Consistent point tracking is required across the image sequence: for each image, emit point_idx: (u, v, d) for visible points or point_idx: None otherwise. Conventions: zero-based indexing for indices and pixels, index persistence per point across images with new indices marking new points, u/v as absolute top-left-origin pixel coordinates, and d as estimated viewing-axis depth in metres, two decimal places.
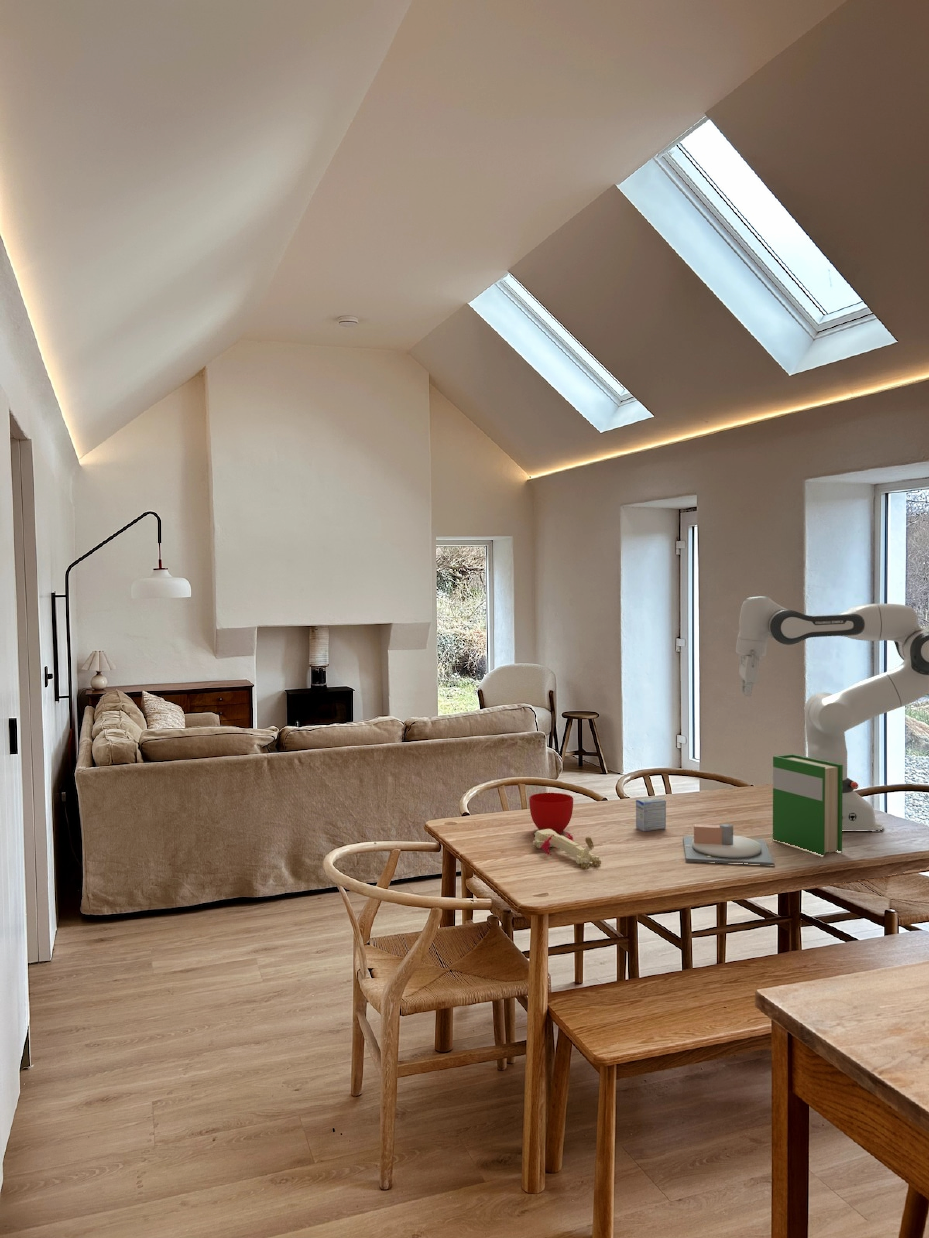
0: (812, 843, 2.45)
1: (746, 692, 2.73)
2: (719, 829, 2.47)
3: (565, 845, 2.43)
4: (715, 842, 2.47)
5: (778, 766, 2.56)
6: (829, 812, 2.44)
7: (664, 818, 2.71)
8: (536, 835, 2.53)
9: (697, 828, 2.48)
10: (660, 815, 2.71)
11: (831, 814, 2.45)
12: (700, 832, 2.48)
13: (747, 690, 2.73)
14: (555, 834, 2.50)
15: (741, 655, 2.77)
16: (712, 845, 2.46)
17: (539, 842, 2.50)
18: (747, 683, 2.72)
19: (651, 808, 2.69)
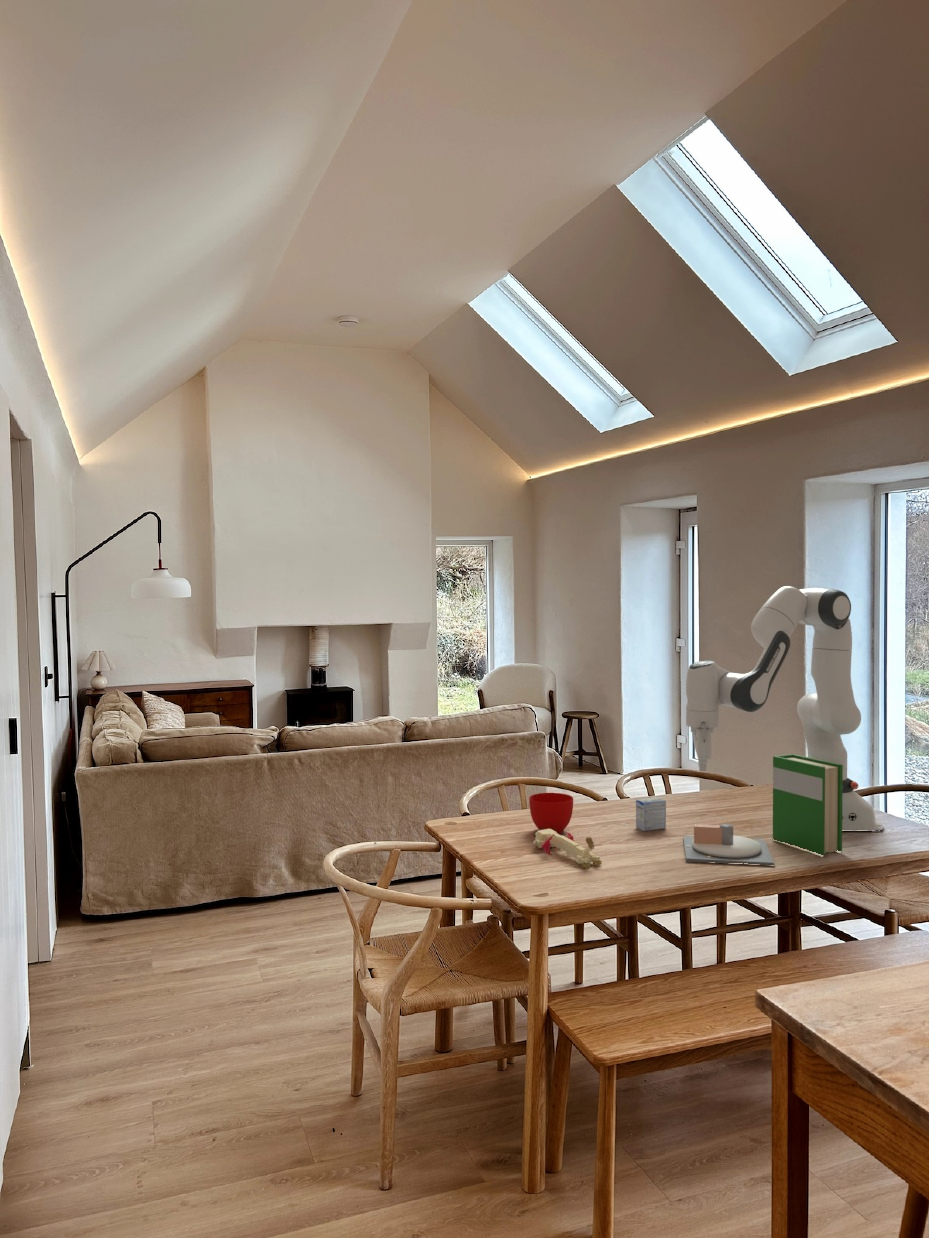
0: (812, 843, 2.45)
1: (700, 767, 2.52)
2: (719, 829, 2.47)
3: (566, 845, 2.43)
4: (715, 842, 2.47)
5: (778, 766, 2.56)
6: (829, 812, 2.44)
7: (664, 818, 2.71)
8: (537, 835, 2.53)
9: (697, 828, 2.48)
10: (660, 815, 2.71)
11: (831, 814, 2.45)
12: (700, 832, 2.48)
13: (701, 764, 2.52)
14: (556, 834, 2.49)
15: (692, 728, 2.53)
16: (712, 845, 2.46)
17: (540, 842, 2.50)
18: None
19: (651, 808, 2.69)
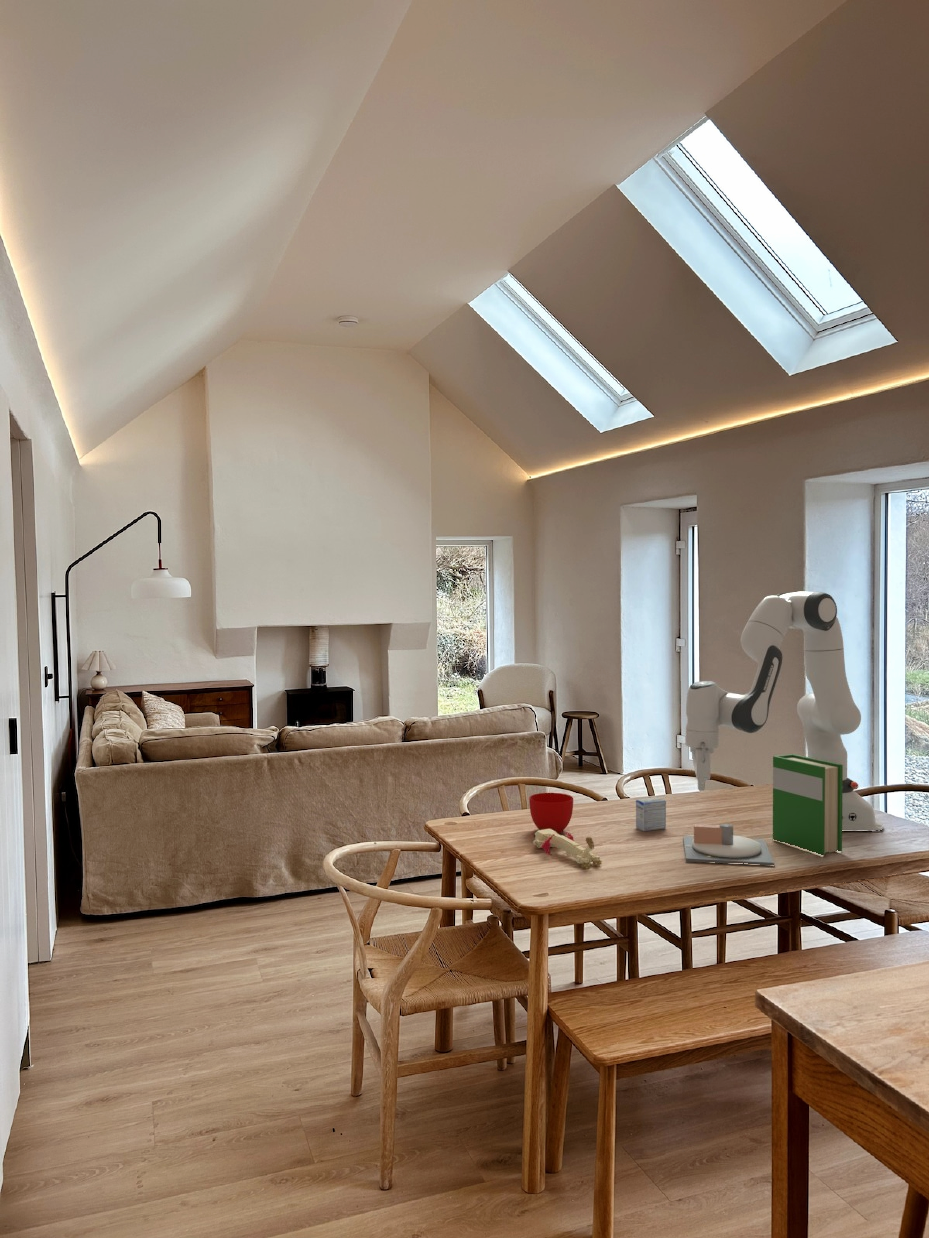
0: (812, 843, 2.45)
1: (699, 786, 2.53)
2: (719, 829, 2.47)
3: (565, 845, 2.43)
4: (715, 842, 2.47)
5: (778, 766, 2.56)
6: (829, 812, 2.44)
7: (664, 818, 2.71)
8: (536, 835, 2.53)
9: (697, 828, 2.48)
10: (660, 815, 2.71)
11: (831, 814, 2.45)
12: (700, 832, 2.48)
13: (700, 784, 2.53)
14: (555, 834, 2.49)
15: (691, 748, 2.53)
16: (712, 845, 2.46)
17: (539, 842, 2.49)
18: None
19: (651, 808, 2.69)
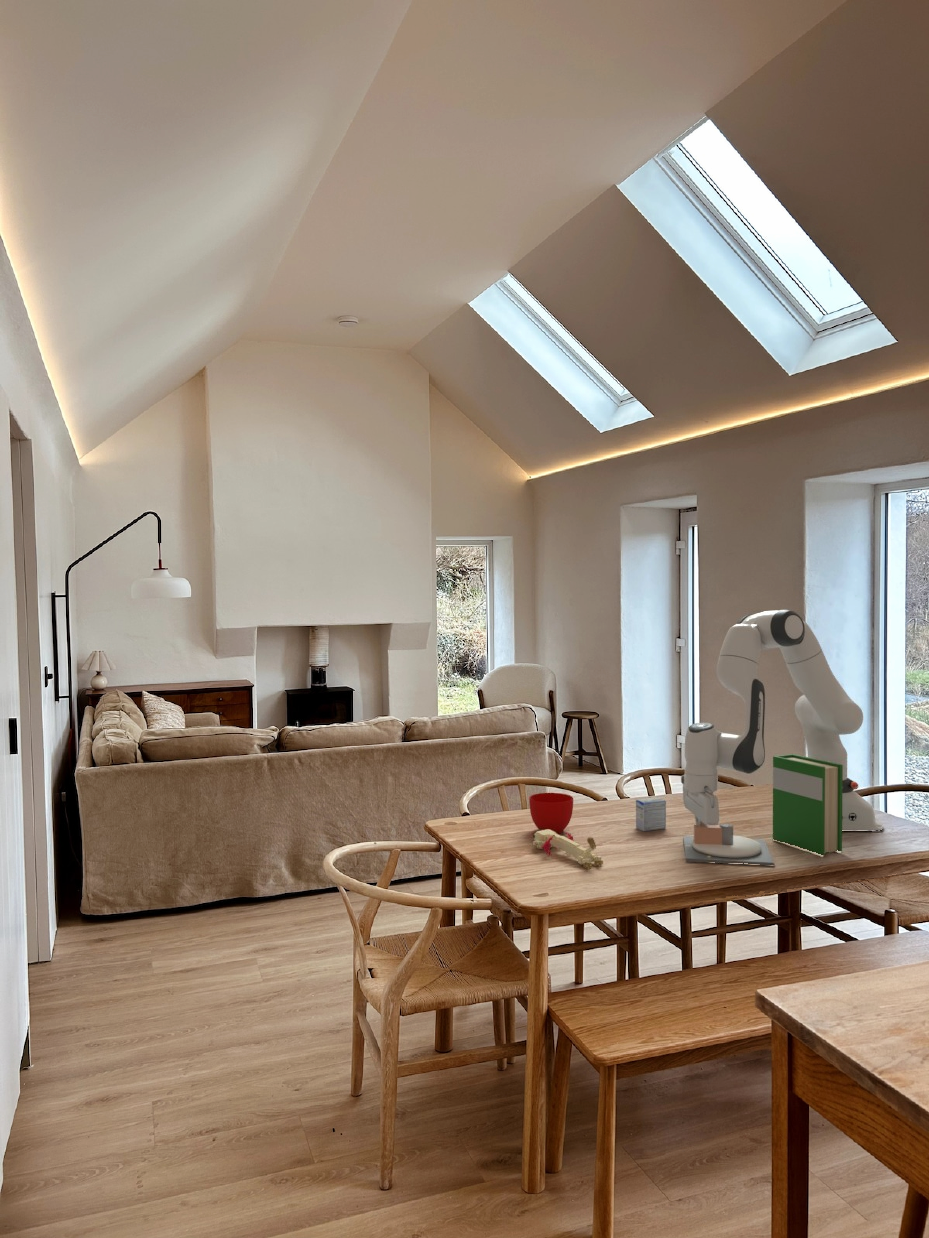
0: (812, 843, 2.45)
1: None
2: (719, 829, 2.46)
3: (566, 845, 2.43)
4: (715, 842, 2.47)
5: (778, 766, 2.56)
6: (829, 812, 2.44)
7: (664, 818, 2.71)
8: (536, 836, 2.52)
9: (697, 828, 2.47)
10: (660, 815, 2.71)
11: (831, 814, 2.45)
12: (700, 833, 2.47)
13: None
14: (555, 834, 2.49)
15: (692, 792, 2.49)
16: (713, 845, 2.45)
17: (539, 843, 2.49)
18: (701, 820, 2.49)
19: (651, 808, 2.69)
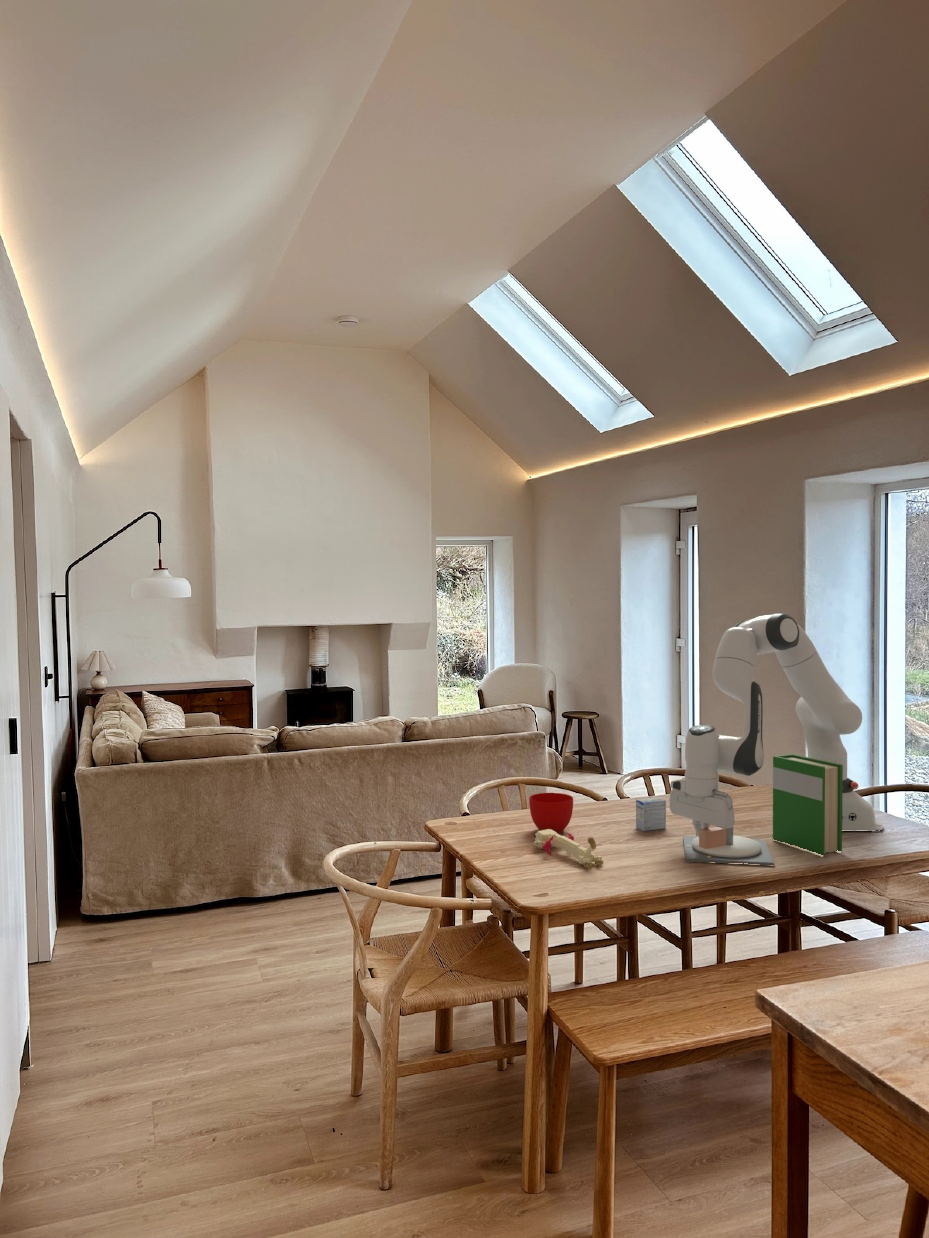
0: (812, 843, 2.45)
1: None
2: (724, 830, 2.45)
3: (567, 845, 2.43)
4: (721, 844, 2.45)
5: (778, 766, 2.56)
6: (829, 812, 2.44)
7: (664, 818, 2.71)
8: (537, 835, 2.52)
9: (707, 833, 2.43)
10: (660, 815, 2.71)
11: (831, 814, 2.45)
12: (710, 837, 2.43)
13: None
14: (556, 834, 2.49)
15: (698, 796, 2.44)
16: (722, 847, 2.43)
17: (540, 842, 2.49)
18: (705, 824, 2.45)
19: (651, 808, 2.69)
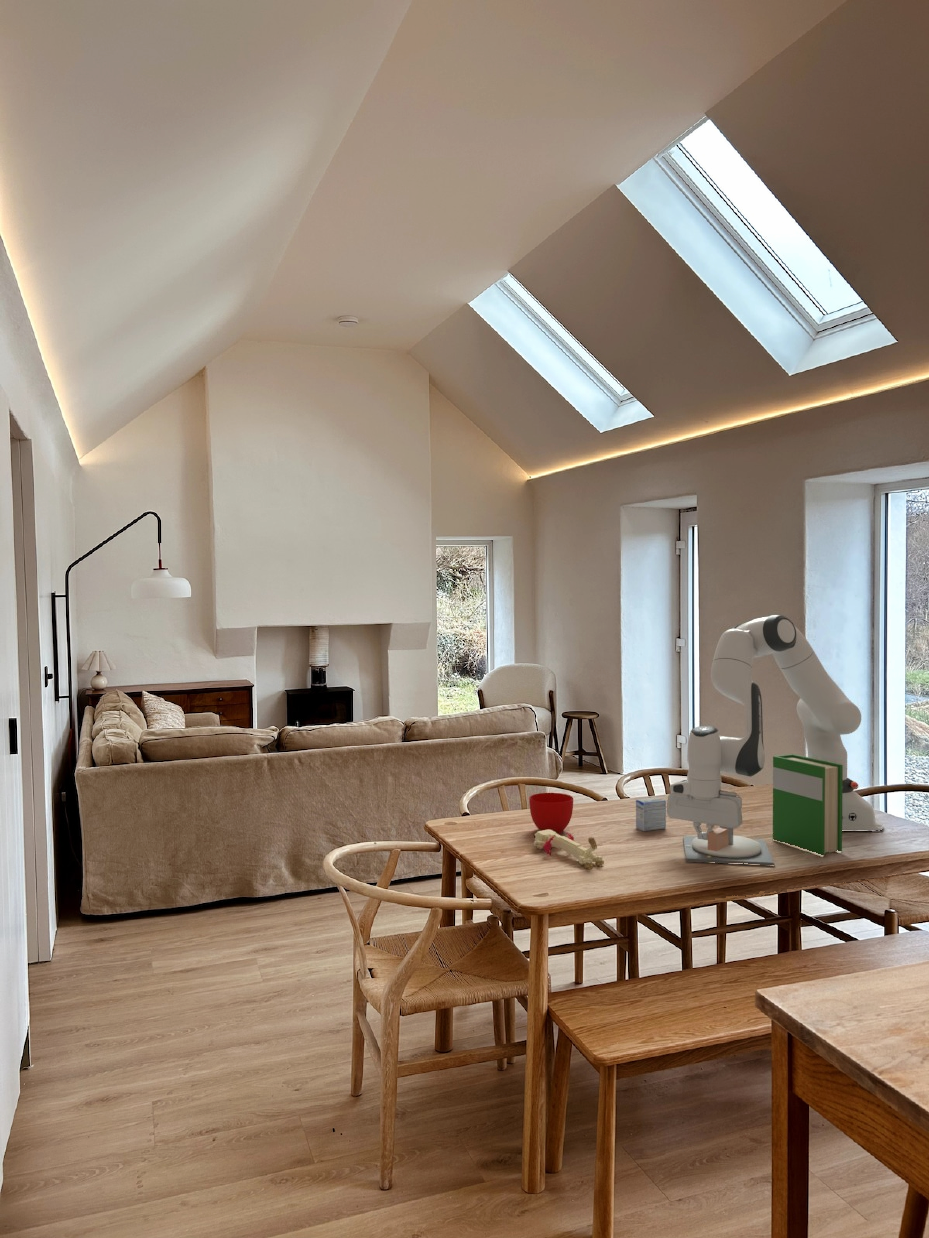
0: (812, 843, 2.45)
1: None
2: (727, 830, 2.45)
3: (567, 845, 2.43)
4: (725, 844, 2.45)
5: (778, 766, 2.56)
6: (829, 812, 2.44)
7: (664, 818, 2.71)
8: (536, 836, 2.52)
9: (718, 835, 2.41)
10: (660, 815, 2.71)
11: (831, 814, 2.45)
12: (719, 838, 2.41)
13: None
14: (556, 835, 2.49)
15: (705, 798, 2.42)
16: (729, 848, 2.43)
17: (540, 843, 2.49)
18: (711, 826, 2.43)
19: (651, 808, 2.69)
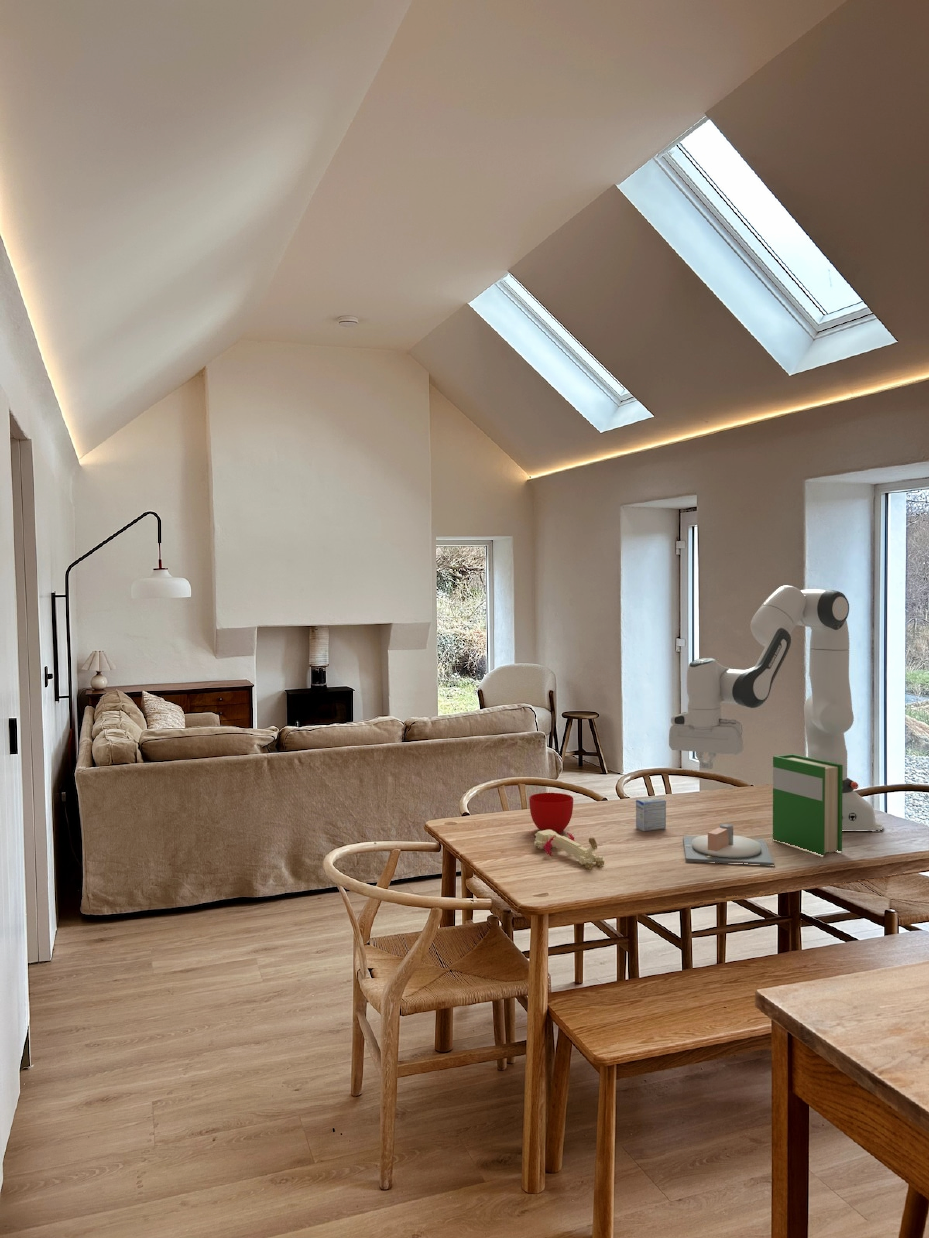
0: (812, 843, 2.45)
1: (710, 765, 2.49)
2: (727, 830, 2.45)
3: (567, 846, 2.43)
4: (725, 844, 2.45)
5: (778, 766, 2.56)
6: (829, 812, 2.44)
7: (664, 818, 2.71)
8: (537, 836, 2.52)
9: (718, 835, 2.41)
10: (660, 815, 2.71)
11: (831, 814, 2.45)
12: (719, 838, 2.41)
13: (711, 762, 2.49)
14: (556, 835, 2.49)
15: (706, 727, 2.47)
16: (729, 848, 2.43)
17: (540, 843, 2.49)
18: (713, 755, 2.48)
19: (651, 808, 2.69)
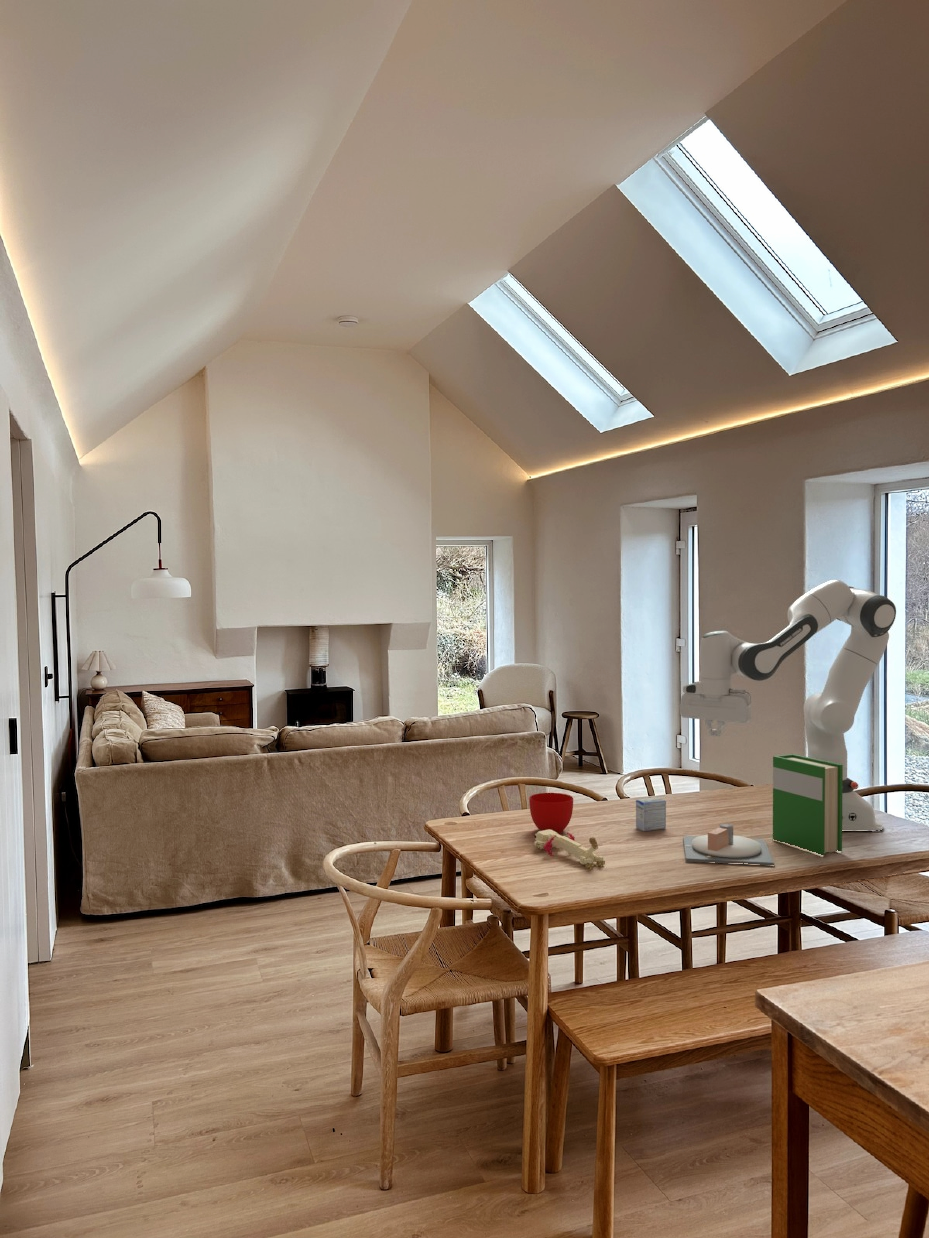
0: (812, 843, 2.45)
1: (719, 732, 2.60)
2: (727, 830, 2.45)
3: (568, 846, 2.42)
4: (725, 844, 2.45)
5: (778, 766, 2.56)
6: (829, 812, 2.44)
7: (664, 818, 2.71)
8: (537, 836, 2.52)
9: (718, 835, 2.41)
10: (660, 815, 2.71)
11: (831, 814, 2.45)
12: (719, 838, 2.41)
13: (719, 730, 2.60)
14: (557, 835, 2.49)
15: (716, 696, 2.58)
16: (729, 848, 2.43)
17: (541, 843, 2.49)
18: (722, 723, 2.59)
19: (651, 808, 2.69)
